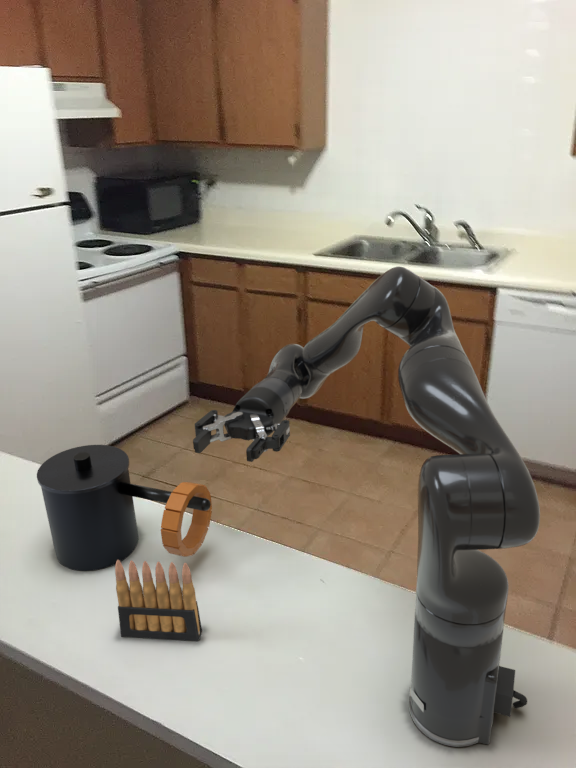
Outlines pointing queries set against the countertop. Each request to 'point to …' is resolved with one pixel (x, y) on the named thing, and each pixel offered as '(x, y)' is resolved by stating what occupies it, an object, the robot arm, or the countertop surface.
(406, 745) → the countertop surface
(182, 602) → the ammunition clip
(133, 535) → the saucepan
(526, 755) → the countertop surface
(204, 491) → the bracelet
